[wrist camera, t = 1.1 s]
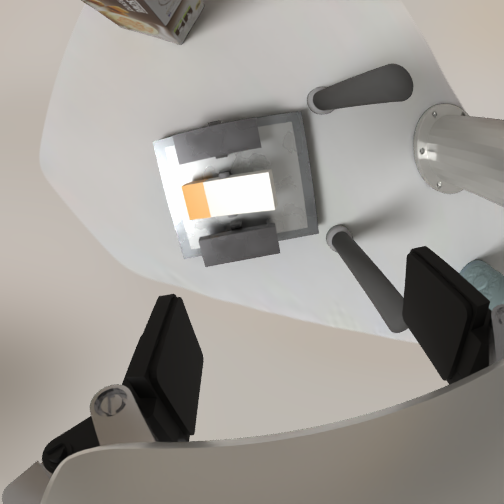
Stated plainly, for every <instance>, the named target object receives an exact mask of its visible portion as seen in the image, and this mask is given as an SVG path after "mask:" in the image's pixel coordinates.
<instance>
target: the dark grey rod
mask: <svg viewBox="0 0 504 504" xmlns="http://www.w3.org/2000/svg"><path fill="white" fill-rule="evenodd" d="M326 241H327V244H328V245H329V246H330V248H331V249H332V250H333V251H335V252H338V254H339V255H340V256H341V258H342V259H343V261H344V262H345V263H346V265H347V266H348V268H349V269H350V271H351V272H352V273H353V275H354V276H355V278H356V279H357V281H358V282H359V284H360V285H361V287H362V288H363V289H364V291H365V292H366V294H367V295H368V297H369V298H370V300H371V301H372V303H373V304H374V306H375V307H376V309H377V310H378V312H379V314H380V315H381V317H382V318H383V320H384V321H385V323H386V324H387V326H388V327H389V329H390V330H391V331H392V332H394V333H399V332H402V331H404V330H406V329H407V328H408V326H407V325H406V324H405V322H404V320H403V317H402V310H403V301H404V298H403V297H402V296H401V294H400V293H399V292H398V291H397V290H396V288H395V287H394V286H393V285H392V284H391V282H390V281H389V280H388V279H387V278H386V276H385V275H384V274H383V273H382V272H381V271H380V269H379V268H378V267H377V266H376V265H375V264H374V263H373V261H372V260H371V259H370V258H369V257H368V256H367V255H366V253H365V252H364V251H363V250H362V249H361V248H360V247H359V246H358V245H357V243H356V242H355V241H354V240H353V237H352V234H351V232H350V231H349V230H348V229H347V228H346V227H344V226H342V225H336V226H334V227H332V228H331V229H330V230H329V231H328V233H327V235H326Z"/></svg>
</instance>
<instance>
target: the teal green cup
mask: <svg viewBox="0 0 504 504" xmlns="http://www.w3.org/2000/svg"><path fill="white" fill-rule="evenodd" d="M459 274H460V275H462V276H463V277H464V278H465V279H466V280H467V281H468V282H469V283H471V284H472V285H473V286H474V287H475V288H476V289H477V290H478V291H479V292H481V293H482V294H483V295H484V296H485V297H486V298H487V299H488V300H489V301H490V304H489V309H490V310H491V311H492V310H493V308H494V307H496V306H497V305H500V304H504V276H503V275H502V274H501V273H500V272H497V271H496V270H494V269H493V268H492V267H491V266H490V265H488V264H487V263H485V262H483V261H481V260H474V261H472V262H470V263H468V264H467V265H466V266H465V267H464V268H463V269H462V270H461V272H460V273H459Z"/></svg>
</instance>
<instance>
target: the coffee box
mask: <svg viewBox="0 0 504 504" xmlns="http://www.w3.org/2000/svg"><path fill="white" fill-rule="evenodd" d="M81 1H83V2H84V3H86V4H88V5H89V6H91V7H92V8H94V9H95V10H97V11H98V12H100V13H101V14H103V15H104V16H106V17H107V18H108V19H110V20H111V21H113V22H114V23H115V24H117V25H118V26H120V27H121V28H124V29H128V30H132V31H136V32H139V33H143V34H146V35H150V36H153V37H157V38H160V39H163V40H166V41H169V42H173V43H176V44H179V45H181V44H182V43H183V41H184V39H185V38H186V36H187V34H188V33H189V31H190V29H191V27H192V26H193V24H194V23H195V21H196V19H197V18H198V16H199V14H200V13H201V11H202V9H203V8H204V3H203V0H81Z"/></svg>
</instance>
